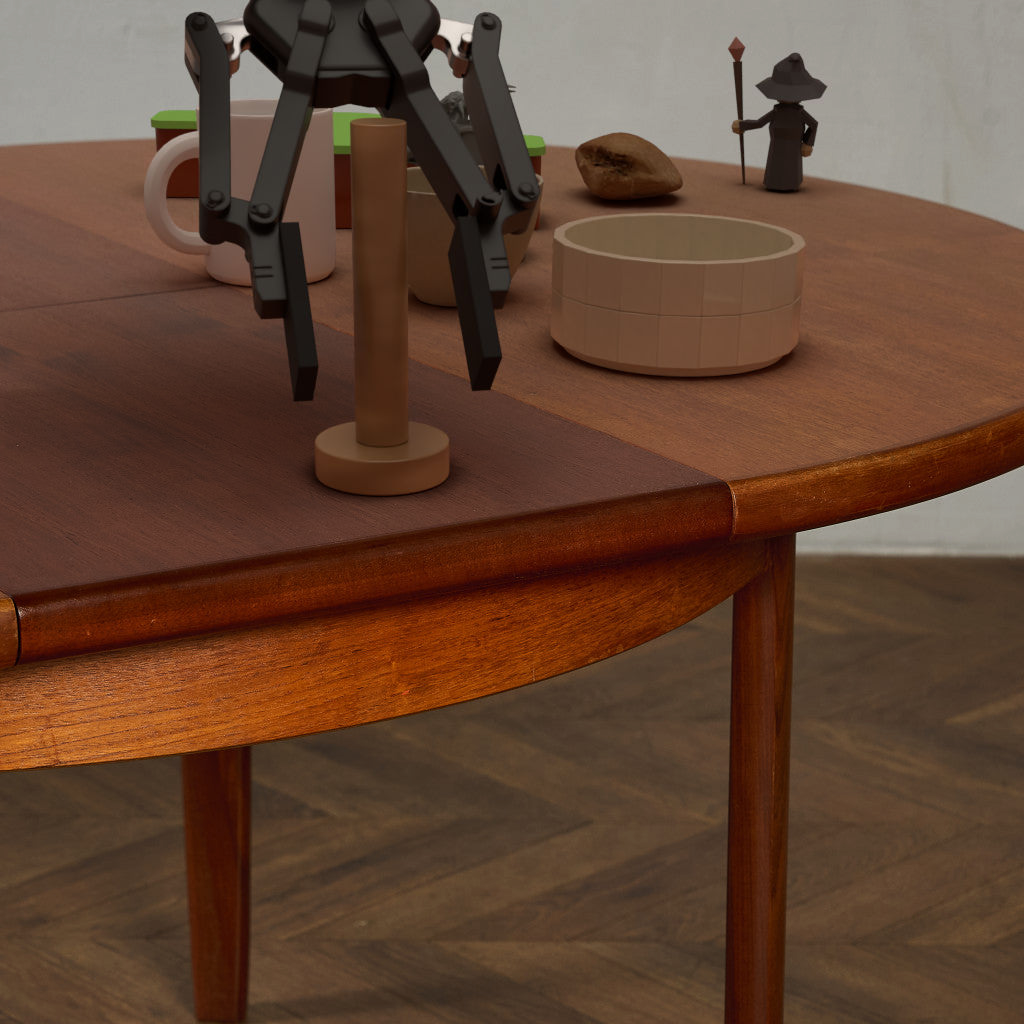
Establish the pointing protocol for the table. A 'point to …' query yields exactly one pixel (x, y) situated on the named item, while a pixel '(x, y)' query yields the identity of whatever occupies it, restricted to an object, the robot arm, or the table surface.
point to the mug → (248, 142)
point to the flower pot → (443, 241)
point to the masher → (380, 333)
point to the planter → (187, 172)
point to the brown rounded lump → (626, 167)
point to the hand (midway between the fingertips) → (397, 378)
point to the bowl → (676, 293)
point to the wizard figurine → (781, 118)
